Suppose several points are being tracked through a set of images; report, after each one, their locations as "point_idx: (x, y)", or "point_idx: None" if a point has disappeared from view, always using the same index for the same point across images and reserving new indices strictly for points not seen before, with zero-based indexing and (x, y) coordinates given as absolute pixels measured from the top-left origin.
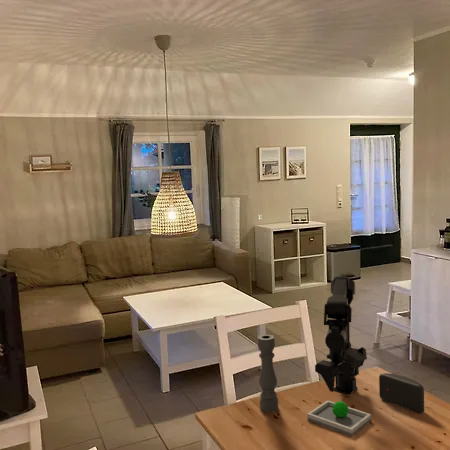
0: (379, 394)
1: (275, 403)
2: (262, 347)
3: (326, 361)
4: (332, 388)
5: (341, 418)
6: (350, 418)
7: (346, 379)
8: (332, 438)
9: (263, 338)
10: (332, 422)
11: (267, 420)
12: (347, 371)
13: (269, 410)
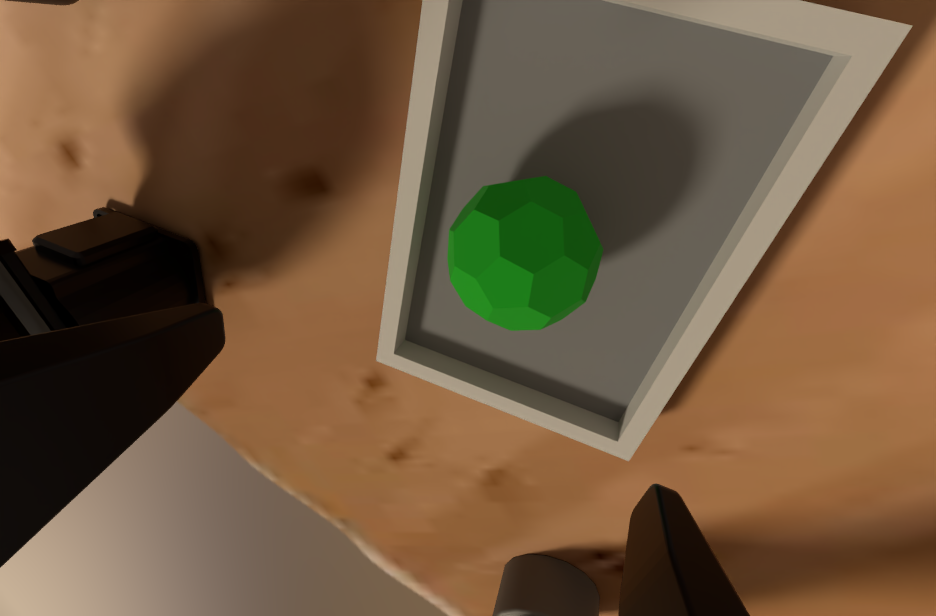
0: (58, 2)
1: (563, 608)
2: None
3: None
4: (717, 570)
5: None
6: (537, 140)
7: (195, 348)
8: (929, 217)
9: None
10: (745, 275)
11: None
12: (22, 429)
13: (595, 597)
